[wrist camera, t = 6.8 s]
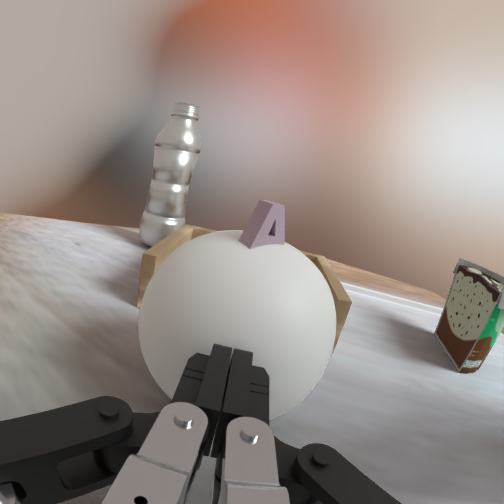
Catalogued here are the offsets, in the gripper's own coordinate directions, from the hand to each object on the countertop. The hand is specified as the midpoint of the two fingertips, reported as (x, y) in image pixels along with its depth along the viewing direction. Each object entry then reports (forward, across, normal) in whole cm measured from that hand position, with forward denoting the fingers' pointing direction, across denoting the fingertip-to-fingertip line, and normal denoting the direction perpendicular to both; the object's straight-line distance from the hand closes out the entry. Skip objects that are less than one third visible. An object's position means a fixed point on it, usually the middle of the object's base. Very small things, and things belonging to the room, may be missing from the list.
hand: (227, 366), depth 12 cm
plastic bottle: (+32, +13, +6) cm, 35 cm away
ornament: (+5, 0, +6) cm, 8 cm away
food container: (+17, -27, +6) cm, 33 cm away
